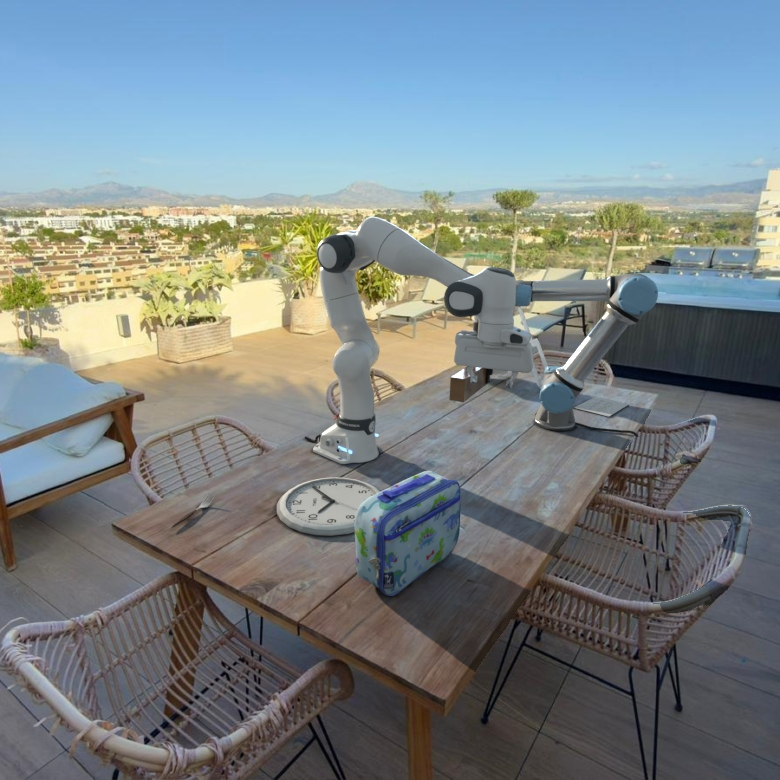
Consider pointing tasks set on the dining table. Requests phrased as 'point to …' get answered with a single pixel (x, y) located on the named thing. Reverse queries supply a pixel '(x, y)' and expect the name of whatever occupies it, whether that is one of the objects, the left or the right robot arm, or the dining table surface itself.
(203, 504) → the fork
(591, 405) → the invitation card
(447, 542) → the lunch box
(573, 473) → the dining table surface
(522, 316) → the white plastic object
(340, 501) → the wall clock
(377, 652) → the dining table surface
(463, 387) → the bar
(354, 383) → the left robot arm
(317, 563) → the dining table surface
